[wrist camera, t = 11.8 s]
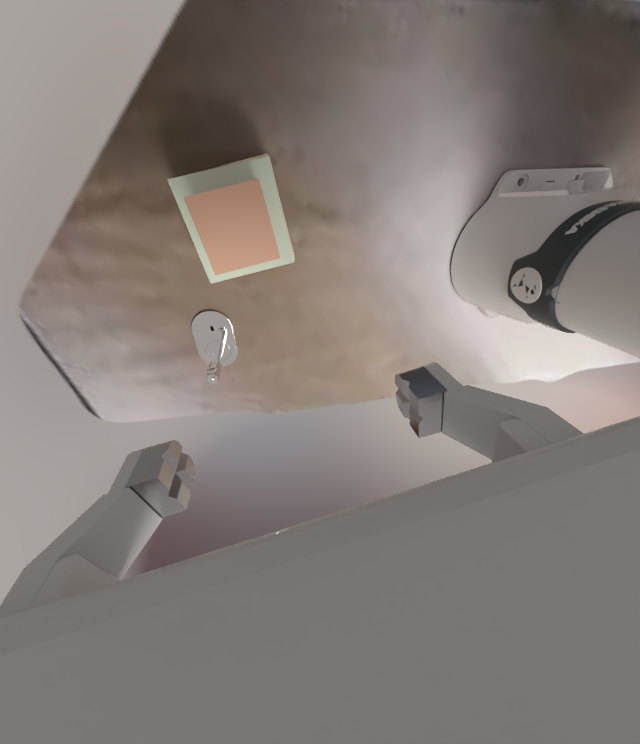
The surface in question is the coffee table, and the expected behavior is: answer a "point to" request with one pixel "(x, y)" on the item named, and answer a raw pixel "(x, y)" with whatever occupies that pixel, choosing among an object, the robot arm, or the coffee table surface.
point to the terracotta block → (234, 226)
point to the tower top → (226, 178)
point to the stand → (214, 342)
